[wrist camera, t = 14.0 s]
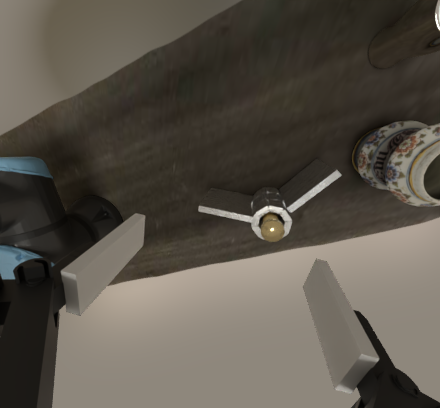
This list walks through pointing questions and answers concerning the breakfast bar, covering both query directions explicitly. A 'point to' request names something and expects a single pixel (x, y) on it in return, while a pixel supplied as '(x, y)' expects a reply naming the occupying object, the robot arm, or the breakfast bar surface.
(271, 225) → the brass pin
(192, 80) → the breakfast bar surface
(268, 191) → the hinge fixed leaf
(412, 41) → the beer glass
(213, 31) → the breakfast bar surface
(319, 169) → the hinge swing leaf
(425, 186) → the apothecary jar
